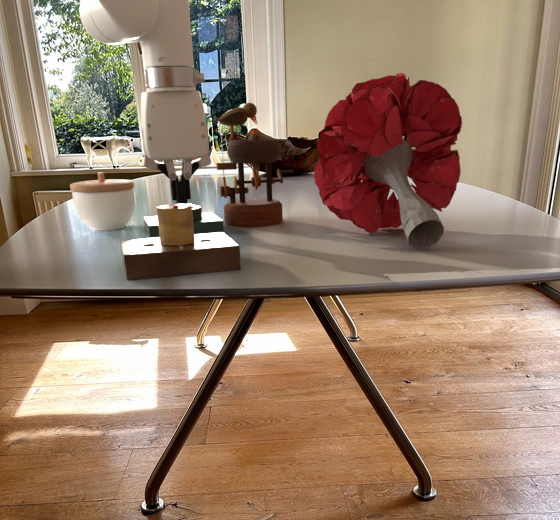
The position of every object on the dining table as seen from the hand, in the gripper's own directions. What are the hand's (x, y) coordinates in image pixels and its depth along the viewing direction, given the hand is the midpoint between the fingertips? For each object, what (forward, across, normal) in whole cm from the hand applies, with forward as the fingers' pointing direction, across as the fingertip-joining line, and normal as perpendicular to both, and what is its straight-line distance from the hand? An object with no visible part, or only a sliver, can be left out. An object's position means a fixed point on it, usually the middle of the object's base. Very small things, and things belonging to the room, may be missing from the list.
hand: (181, 204), depth 99 cm
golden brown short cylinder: (+1, +4, +25) cm, 25 cm away
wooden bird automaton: (+5, -14, -4) cm, 15 cm away
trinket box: (+5, +12, -10) cm, 16 cm away
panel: (+4, +4, +25) cm, 26 cm away
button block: (+4, 0, 0) cm, 5 cm away
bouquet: (+5, -30, +16) cm, 34 cm away
